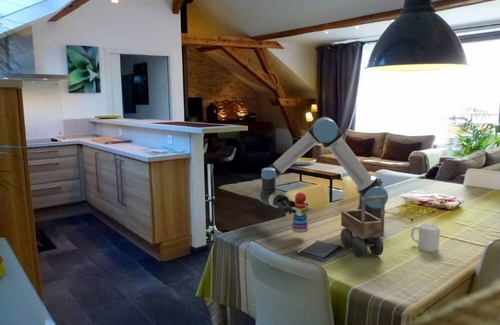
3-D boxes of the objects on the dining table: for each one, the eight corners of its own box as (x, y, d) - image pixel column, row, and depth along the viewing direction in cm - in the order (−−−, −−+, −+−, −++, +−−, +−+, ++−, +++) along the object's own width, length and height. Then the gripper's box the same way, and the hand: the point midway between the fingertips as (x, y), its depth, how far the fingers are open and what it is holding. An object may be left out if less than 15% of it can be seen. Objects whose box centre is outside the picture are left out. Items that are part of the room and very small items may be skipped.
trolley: (359, 242, 183) (361, 186, 178) (383, 258, 165) (385, 196, 160) (340, 244, 181) (341, 187, 176) (361, 261, 162) (363, 198, 158)
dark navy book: (323, 259, 162) (292, 250, 171) (323, 263, 162) (292, 254, 172) (346, 245, 177) (316, 237, 187) (345, 249, 177) (316, 241, 187)
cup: (434, 253, 169) (435, 231, 167) (406, 246, 177) (407, 224, 176) (441, 248, 175) (442, 226, 173) (414, 241, 183) (415, 220, 181)
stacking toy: (295, 234, 185) (294, 195, 181) (289, 228, 192) (288, 191, 189) (311, 232, 187) (310, 193, 183) (304, 226, 194) (303, 189, 191)
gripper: (294, 205, 208) (322, 216, 188) (263, 211, 199) (290, 223, 179) (294, 191, 207) (322, 201, 187) (263, 196, 198) (289, 207, 178)
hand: (306, 212), depth 183 cm, fingers closed on stacking toy, 6 cm apart
